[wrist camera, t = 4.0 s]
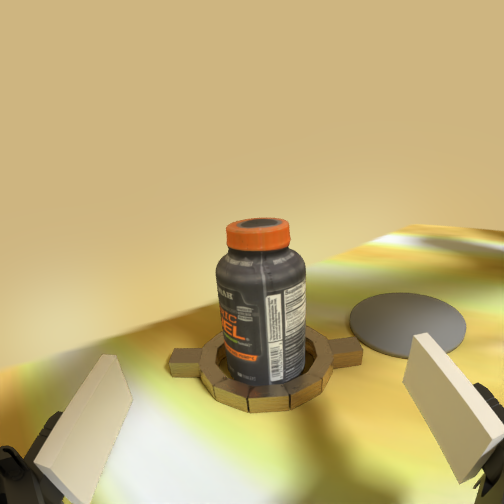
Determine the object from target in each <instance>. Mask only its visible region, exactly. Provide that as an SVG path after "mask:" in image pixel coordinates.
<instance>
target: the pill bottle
mask: <svg viewBox="0 0 504 504" xmlns="http://www.w3.org/2000/svg"><path fill="white" fill-rule="evenodd" d="M226 232H227V246H228V248H229V250H228V253H227V254H226V255H225V256H223V257H222V258H221V259H220V261H219V263H218V264H217V267H216V280H217V289H218V297H219V304H220V313H221V321H222V328H223V336H224V342H225V350H226V357H227V364H228V370H229V372H230V375H231V377H232V378H234V380H236V381H239V382H242V383H245V384H248V385H251V386H262V385H277V384H284V383H286V382H289V381H291V380H293V379H295V378H297V377H299V376H300V375H301V373H302V372H303V370H304V366H305V331H306V268H305V263H304V260H303V258H302V257H301V256H300V255H299V254H298V253H297V252H296V251H294V250H292V249H289V248H288V246H289V243H290V232H289V223H288V222H287V221H286V220H283V219H277V218H253V219H245V220H240V221H236V222H233V223H231V224H229V225H228V226H227V227H226Z"/></svg>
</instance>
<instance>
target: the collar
mask: <svg viewBox="0 0 504 504" xmlns="http://www.w3.org/2000/svg"><path fill="white" fill-rule="evenodd" d="M305 351H307V352H308V353H309V354H311V355H312V356H313V359H314V363H313V365H312V366H311V368H310V369H309V371H308V372H307V373H305V374H303V375H301V376H299V377H297V378H295V379H293V380H291V381H289V382H286V383H284V384H277V385H262V386H251V385H248V384H245V383H242V382H239V381H236V380H233V379H230V378H227V377H226V376H225V375H224V374H223V372H222V371H221V370H220V369H219V363H220V361H221V360H222V359H223V358H224V357H226V350H225V342H224V336H223V332H222V331H221V332H220V333H219V334H218V335H216V336H215V337H214V338H213V339H211V340H210V341H209V342H208V343H206V344H205V345H204V347H203V348H174V351H173V353H172V356H171V358H170V361H169V366H170V370H171V373H172V377H201V380H202V382H203V383H204V385H205V386H206V388H207V389H208V390H209V392H210V393H211V395H212V396H213V397H214V399H215V400H216V401H218V402H221V403H223V404H226V405H229V406H231V407H234V408H236V409H239V410H242V411H245V412H247V413H248V412H249V411H250V413H260V412H276V411H289V409H290V410H292V409H294V408H296V407H297V406H299V405H301V404H303V403H305V402H307V401H309V400H311V399H312V398H314V397H316V396H318V395H320V394H321V393H322V391H323V390H324V388H325V386H326V384H327V382H328V380H329V378H330V376H331V375H332V373H333V369H335V368H342V367H349V366H356V365H361V362H362V356H363V349H362V347H361V345H360V343H359V341H358V340H357V338H356V337H349V338H341V339H333V340H328V339H327V338H326V337H325V336H323V335H321V334H320V333H318V332H317V331H315V330H313V329H312V328H310V327H308V326H306V331H305Z"/></svg>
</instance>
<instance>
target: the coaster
mask: <svg viewBox="0 0 504 504" xmlns="http://www.w3.org/2000/svg"><path fill="white" fill-rule="evenodd" d="M350 327H351V329H352V332H353V333H354V335H355V336H356V337H357V338H358V339H359V340H360V341H361V342H362V343H364V344H365V345H367V346H368V347H370V348H372V349H374V350H376V351H378V352H381V353H383V354H386V355H390V356H394V357H399V358H405V359H408V358H409V354H410V349H411V345H412V340H413V335H417V334H422V333H428V334H429V335H430V336H431V337H432V338H433V339H434V340H435V342H436V343H437V344H438V345H439V346H440V347H441V348H442V350H443V351H444V352H445V353H446V354H447V353H449V352H451V351H453V350H454V349H456V348H457V347H458V346H459V345H460V344H461V342H462V341H463V339H464V336H465V332H466V323H465V320H464V318H463V316H462V315H461V314H460V313H459V312H458V311H457V310H456V309H455V308H453V307H452V306H451V305H449V304H447V303H445V302H443V301H441V300H438V299H436V298H432V297H429V296H425V295H420V294H413V293H387V294H381V295H376V296H373V297H370V298H367V299H365V300H363V301H361V302H360V303H358V304H357V305H356V306H355V307H354V308H353V310H352V312H351V315H350Z"/></svg>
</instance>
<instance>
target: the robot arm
mask: <svg viewBox="0 0 504 504" xmlns="http://www.w3.org/2000/svg"><path fill="white" fill-rule="evenodd" d="M403 384H404V385H405V387H406V389H407V390H408V392H409V394H410V395H411V397H412V399H413V400H414V402H415V404H416V406H417V407H418V409H419V411H420V412H421V414H422V416H423V418H424V419H425V421H426V423H427V425H428V426H429V428H430V430H431V432H432V434H433V435H434V437H435V439H436V441H437V443H438V445H439V446H440V448H441V450H442V452H443V454H444V456H445V458H446V459H447V461H448V463H449V465H450V467H451V469H452V471H453V473H454V475H455V477H456V479H457V481H458V483H459V484H461V483H463V482H465V481H467V480H469V479H471V478H473V477H475V476H476V475H477V473H478V472H479V471H480V470H481V468H482V469H483V471H484V472H485V473H484V474H483V475H482V477H481V478H480V479H479V480H478V481H477V483H476V484H475V485H474V487H473V489H476V487H477V486H478V485H479V484H480V486H479V490H478V493H477V497H476V500H475V503H474V504H504V408H503V407H502V405H501V404H499V402H498V400H497V399H496V398H494V396H493V394H492V393H491V392H490V391H489V390H488V388H486V387H484V386H483V385H481V384H479V383H476V384H473V385H472V384H471V382H470V381H469V380H468V379H467V378H466V376H465V375H464V374H463V373H462V372H461V370H460V369H459V368H458V367H457V366H456V365H455V363H454V362H453V361H452V360H451V359H450V358H449V356H448V355H447V354H446V353H445V352H444V351H443V350H442V348H441V347H440V346H439V345H438V344H437V343H436V342H435V340H434V339H433V338H432V337H431V336H430V335H429V334H428V333H422V334H417V335H413V340H412V345H411V349H410V354H409V358H408V362H407V366H406V370H405V374H404V378H403ZM132 401H133V398H132V396H131V393H130V391H129V388H128V385H127V383H126V380H125V377H124V375H123V372H122V369H121V367H120V364H119V361H118V358H117V355H107V354H102V355H101V357H100V358H99V360H98V361H97V363H96V364H95V365H94V367H93V368H92V370H91V371H90V373H89V374H88V376H87V377H86V379H85V380H84V382H83V383H82V385H81V386H80V388H79V389H78V391H77V392H76V394H75V395H74V397H73V398H72V400H71V401H70V403H69V405H68V406H67V408H66V409H65V411H64V412H59V411H58V412H56V413H55V414H54V415H53V416H51V417H50V418H49V419H48V421H47V422H46V424H45V425H44V429H42V430H41V432H40V433H39V436H37V438H36V440H35V441H34V443H33V444H32V446H31V448H30V449H29V451H28V452H27V454H26V456H25V457H24V459H23V458H22V457H21V456H20V455H19V453H18V452H17V451H16V450H15V449H14V448H13V447H10V446H1V447H0V504H64V503H63V501H62V500H63V497H64V496H65V497H66V498H67V499H68V500H69V501H70V502H71V503H73V504H90V502H91V500H92V497H93V495H94V492H95V489H96V487H97V484H98V482H99V479H100V477H101V474H102V472H103V469H104V467H105V464H106V462H107V459H108V457H109V455H110V452H111V450H112V447H113V445H114V443H115V440H116V438H117V436H118V433H119V431H120V429H121V426H122V424H123V422H124V419H125V417H126V415H127V412H128V410H129V408H130V406H131V403H132Z"/></svg>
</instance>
